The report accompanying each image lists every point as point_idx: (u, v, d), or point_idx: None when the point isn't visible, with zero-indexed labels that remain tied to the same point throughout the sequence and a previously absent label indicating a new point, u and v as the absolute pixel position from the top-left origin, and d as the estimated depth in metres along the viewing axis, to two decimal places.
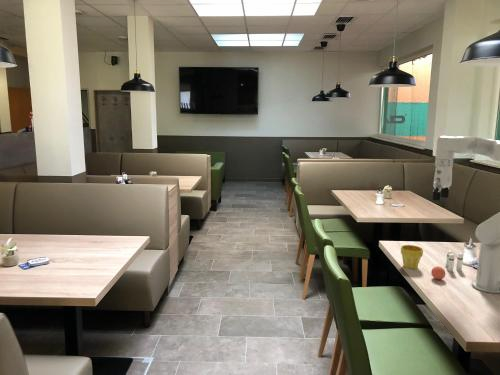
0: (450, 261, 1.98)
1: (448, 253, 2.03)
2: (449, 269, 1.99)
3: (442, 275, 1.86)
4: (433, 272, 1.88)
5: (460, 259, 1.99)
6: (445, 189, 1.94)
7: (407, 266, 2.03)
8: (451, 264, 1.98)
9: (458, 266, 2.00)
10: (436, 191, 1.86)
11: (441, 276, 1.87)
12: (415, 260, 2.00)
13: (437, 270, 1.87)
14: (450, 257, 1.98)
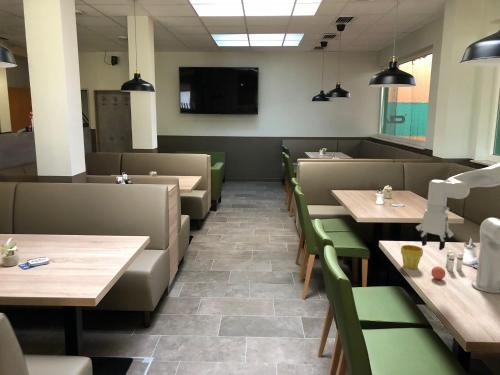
0: (450, 261, 1.98)
1: (448, 253, 2.03)
2: (449, 269, 1.99)
3: (442, 275, 1.86)
4: (433, 272, 1.88)
5: (460, 259, 1.99)
6: (426, 236, 1.82)
7: (407, 266, 2.03)
8: (451, 264, 1.98)
9: (458, 266, 2.00)
10: (445, 240, 1.76)
11: (441, 276, 1.87)
12: (415, 260, 2.00)
13: (437, 270, 1.87)
14: (450, 257, 1.98)
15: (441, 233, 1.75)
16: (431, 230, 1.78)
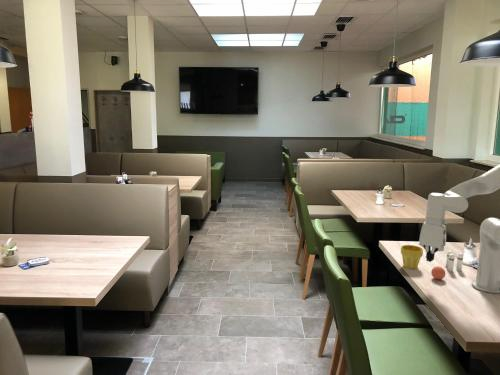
0: (450, 261, 1.98)
1: (448, 253, 2.03)
2: (449, 269, 1.99)
3: (442, 275, 1.86)
4: (433, 272, 1.88)
5: (460, 259, 1.99)
6: (430, 250, 1.81)
7: (407, 266, 2.03)
8: (451, 264, 1.98)
9: (458, 266, 2.00)
10: None
11: (441, 276, 1.87)
12: (415, 260, 2.00)
13: (437, 270, 1.87)
14: (450, 257, 1.98)
15: (439, 246, 1.76)
16: (429, 243, 1.79)
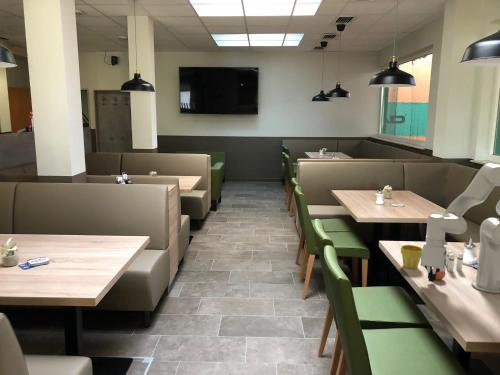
0: (450, 261, 1.98)
1: (448, 253, 2.03)
2: (449, 269, 1.99)
3: (442, 275, 1.86)
4: None
5: (460, 259, 1.99)
6: None
7: (407, 266, 2.03)
8: (451, 264, 1.98)
9: (458, 266, 2.00)
10: (436, 272, 1.82)
11: (441, 276, 1.87)
12: (415, 260, 2.00)
13: None
14: (450, 257, 1.98)
15: (440, 267, 1.79)
16: (430, 263, 1.81)
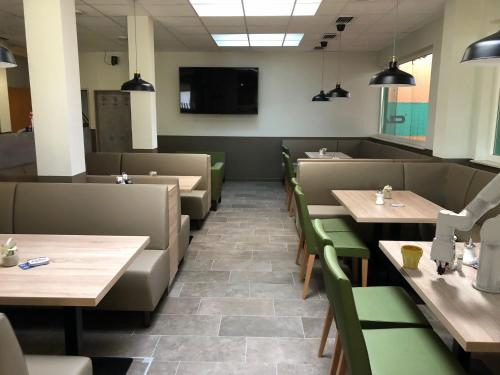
0: (455, 262, 2.04)
1: None
2: (451, 265, 2.01)
3: (448, 265, 2.00)
4: None
5: (460, 259, 1.99)
6: None
7: (407, 266, 2.03)
8: (455, 264, 2.03)
9: (458, 266, 2.00)
10: (445, 266, 1.90)
11: None
12: (415, 260, 2.00)
13: None
14: (456, 262, 2.06)
15: (449, 261, 1.86)
16: (439, 257, 1.89)
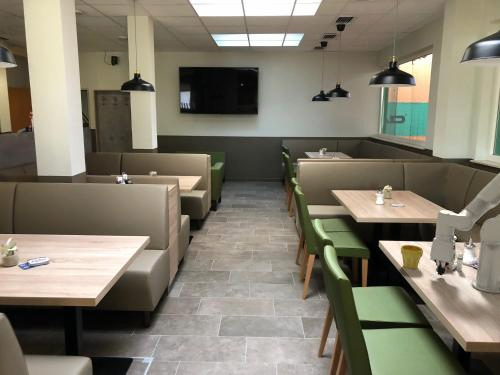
0: (455, 262, 2.04)
1: None
2: (451, 265, 2.01)
3: (448, 265, 2.01)
4: None
5: (460, 259, 1.99)
6: None
7: (407, 266, 2.03)
8: (455, 264, 2.03)
9: (458, 266, 2.00)
10: (445, 266, 1.90)
11: None
12: (415, 260, 2.00)
13: None
14: (456, 262, 2.06)
15: (449, 261, 1.86)
16: (439, 257, 1.89)
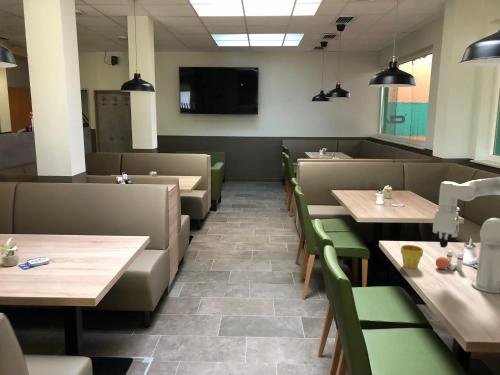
0: (455, 262, 2.04)
1: (448, 253, 2.03)
2: (451, 265, 2.01)
3: None
4: (441, 268, 2.02)
5: (460, 259, 1.99)
6: None
7: (407, 266, 2.03)
8: (455, 264, 2.03)
9: (458, 266, 2.00)
10: (448, 238, 1.87)
11: None
12: (415, 260, 2.00)
13: (444, 267, 2.00)
14: (456, 262, 2.06)
15: (452, 232, 1.83)
16: (442, 229, 1.86)
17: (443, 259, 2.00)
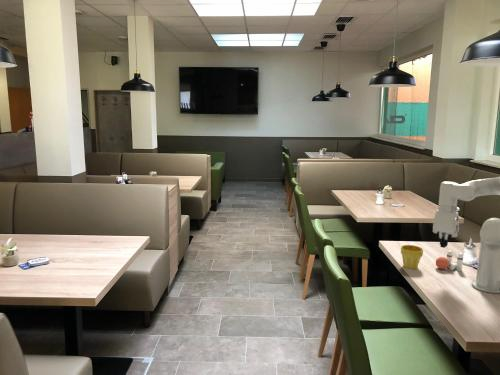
0: (455, 262, 2.04)
1: (448, 253, 2.03)
2: (451, 265, 2.01)
3: None
4: (441, 268, 2.02)
5: (460, 259, 1.99)
6: None
7: (407, 266, 2.03)
8: (455, 264, 2.03)
9: (458, 266, 2.00)
10: (448, 238, 1.87)
11: None
12: (415, 260, 2.00)
13: (444, 267, 2.00)
14: (456, 262, 2.06)
15: (452, 232, 1.83)
16: (442, 229, 1.86)
17: (443, 259, 2.00)
